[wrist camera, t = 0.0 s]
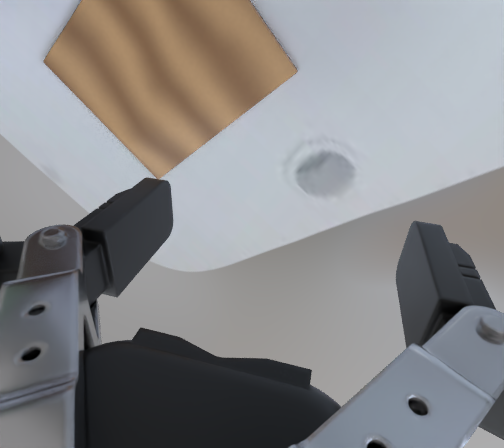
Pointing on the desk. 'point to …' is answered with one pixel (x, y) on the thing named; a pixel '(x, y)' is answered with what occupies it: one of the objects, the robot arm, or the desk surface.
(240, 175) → the desk surface
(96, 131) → the desk surface
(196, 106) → the wooden board
